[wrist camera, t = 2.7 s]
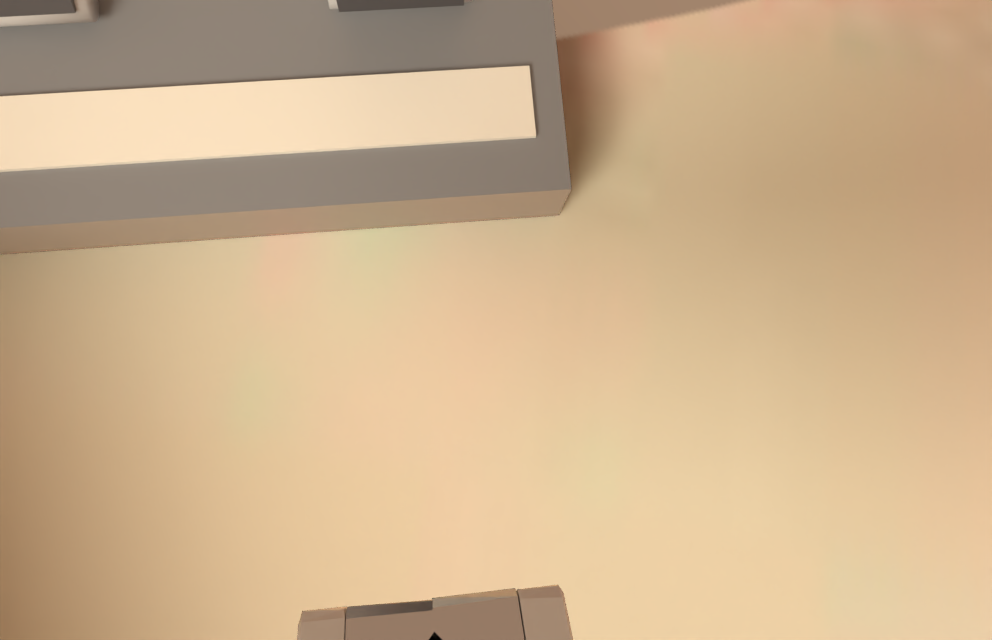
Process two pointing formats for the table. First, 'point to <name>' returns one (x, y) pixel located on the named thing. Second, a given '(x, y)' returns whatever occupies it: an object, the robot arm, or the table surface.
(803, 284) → the table surface
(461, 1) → the lever
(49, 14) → the lever
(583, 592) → the table surface
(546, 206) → the breaker panel
